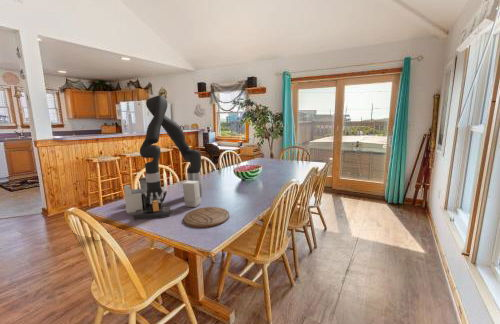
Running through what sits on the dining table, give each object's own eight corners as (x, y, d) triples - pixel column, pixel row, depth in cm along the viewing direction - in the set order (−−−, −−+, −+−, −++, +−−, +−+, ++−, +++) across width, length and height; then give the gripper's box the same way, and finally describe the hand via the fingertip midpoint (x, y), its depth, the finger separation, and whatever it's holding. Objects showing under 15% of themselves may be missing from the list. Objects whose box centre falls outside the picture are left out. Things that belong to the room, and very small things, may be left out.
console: (170, 211, 150) (170, 206, 150) (169, 216, 143) (168, 211, 142) (136, 214, 146) (136, 210, 146) (133, 220, 139) (133, 215, 138)
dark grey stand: (162, 204, 162) (161, 187, 160) (160, 211, 150) (158, 192, 148) (133, 207, 158) (130, 189, 156) (128, 215, 147) (125, 195, 144)
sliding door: (143, 210, 150) (140, 184, 147) (142, 211, 149) (139, 185, 145) (127, 212, 148) (123, 185, 145) (126, 213, 147) (122, 186, 144)
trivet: (211, 206, 157) (210, 204, 157) (238, 217, 140) (238, 214, 140) (175, 219, 139) (175, 216, 139) (201, 233, 122) (201, 229, 122)
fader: (159, 208, 147) (158, 200, 146) (158, 210, 143) (157, 202, 142) (154, 208, 146) (153, 200, 145) (153, 211, 142) (152, 203, 141)
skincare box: (201, 204, 162) (199, 180, 159) (195, 207, 156) (193, 183, 153) (189, 202, 164) (188, 180, 161) (184, 206, 158) (182, 182, 155)
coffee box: (149, 197, 178) (147, 175, 175) (157, 197, 177) (155, 175, 174) (141, 201, 169) (139, 178, 166) (150, 202, 168) (147, 179, 165)
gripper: (166, 177, 146) (169, 205, 150) (141, 179, 143) (144, 208, 146) (165, 180, 139) (168, 210, 142) (138, 183, 136) (142, 212, 139)
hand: (156, 208), depth 144 cm, fingers closed on fader, 3 cm apart
